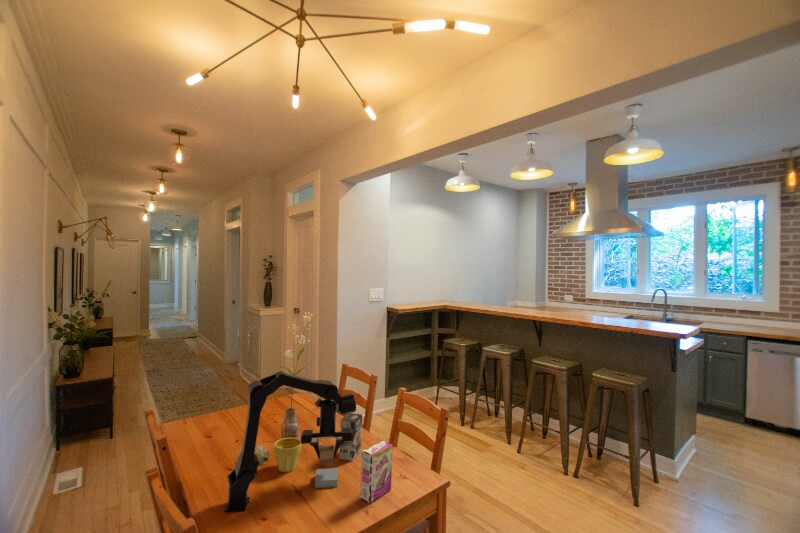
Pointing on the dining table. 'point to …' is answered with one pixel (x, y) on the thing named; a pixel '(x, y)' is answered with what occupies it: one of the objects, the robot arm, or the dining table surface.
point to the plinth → (326, 478)
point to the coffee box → (353, 447)
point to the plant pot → (287, 453)
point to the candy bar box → (376, 471)
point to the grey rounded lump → (262, 454)
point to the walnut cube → (326, 454)
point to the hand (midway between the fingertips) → (326, 458)
